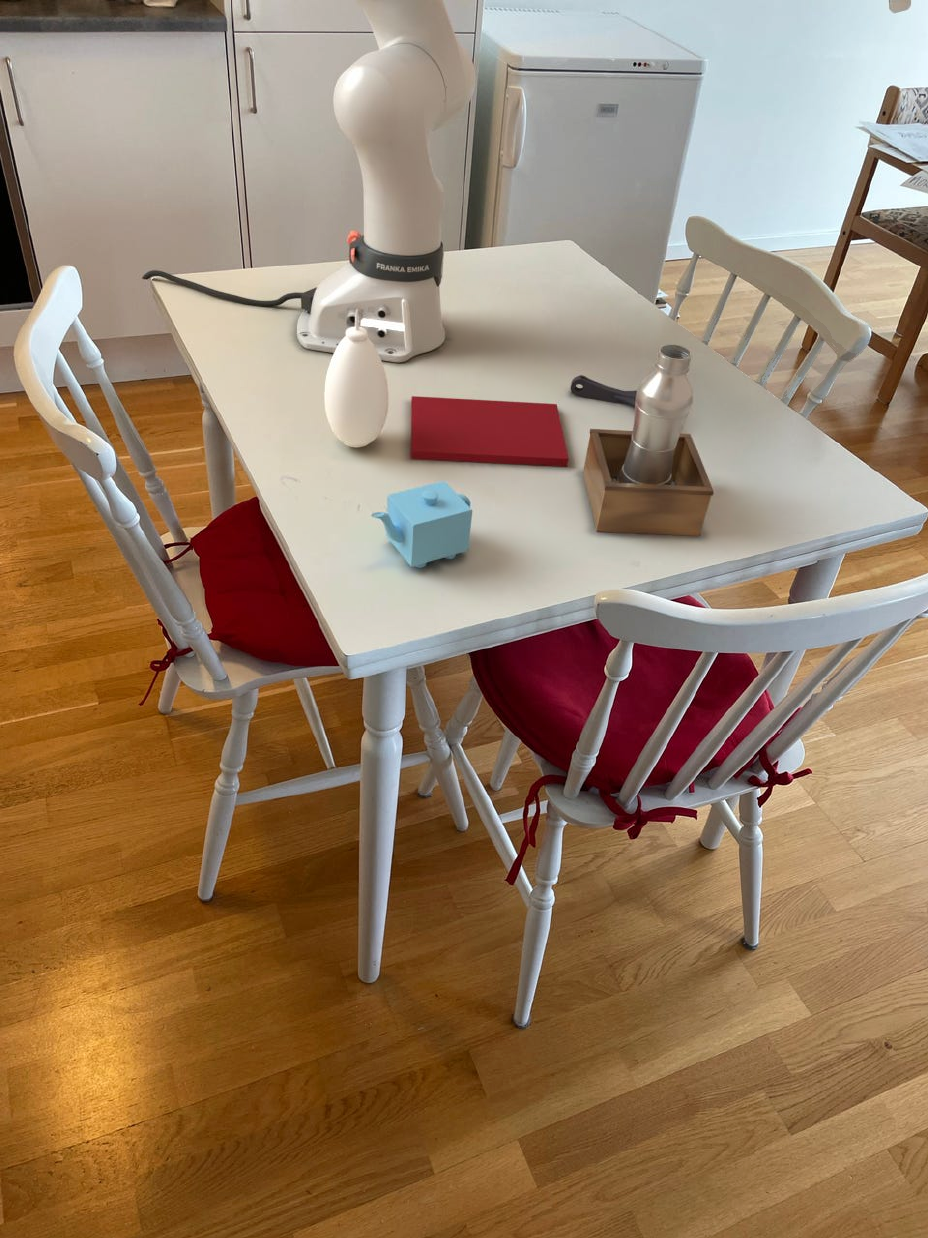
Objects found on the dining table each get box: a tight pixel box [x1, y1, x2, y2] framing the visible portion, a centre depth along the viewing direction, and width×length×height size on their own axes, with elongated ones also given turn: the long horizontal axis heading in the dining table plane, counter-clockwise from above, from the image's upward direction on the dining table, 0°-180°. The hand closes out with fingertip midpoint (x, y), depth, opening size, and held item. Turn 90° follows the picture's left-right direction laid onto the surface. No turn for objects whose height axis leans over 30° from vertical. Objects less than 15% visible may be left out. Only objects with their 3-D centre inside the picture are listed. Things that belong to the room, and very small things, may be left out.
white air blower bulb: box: [323, 309, 389, 448], centre depth 117 cm, size 8×8×18 cm
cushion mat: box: [410, 395, 569, 467], centre depth 127 cm, size 20×14×1 cm
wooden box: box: [582, 428, 715, 537], centre depth 116 cm, size 13×13×6 cm
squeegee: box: [570, 374, 637, 407], centre depth 136 cm, size 14×15×3 cm
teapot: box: [370, 480, 473, 569], centre depth 104 cm, size 12×6×8 cm, turn 120°
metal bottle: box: [616, 343, 694, 485], centre depth 111 cm, size 6×7×20 cm
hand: (899, 10), depth 96 cm, fingers open, 8 cm apart
